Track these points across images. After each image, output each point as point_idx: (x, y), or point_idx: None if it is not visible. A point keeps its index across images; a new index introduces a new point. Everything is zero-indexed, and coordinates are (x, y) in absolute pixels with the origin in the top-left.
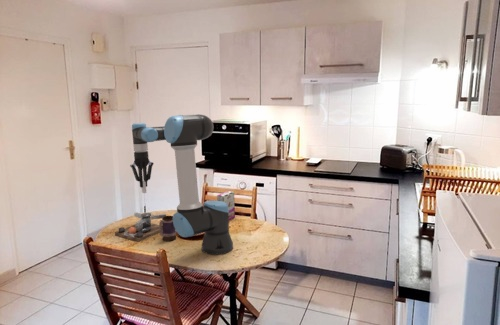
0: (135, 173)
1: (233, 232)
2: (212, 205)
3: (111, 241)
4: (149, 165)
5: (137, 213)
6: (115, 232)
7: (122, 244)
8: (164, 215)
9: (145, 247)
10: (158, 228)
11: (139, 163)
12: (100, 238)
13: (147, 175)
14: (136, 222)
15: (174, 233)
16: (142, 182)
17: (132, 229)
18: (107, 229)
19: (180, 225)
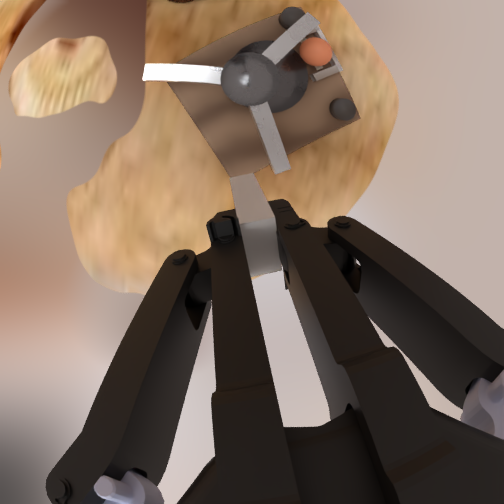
0: (436, 279)
1: (7, 7)
2: None
3: (374, 72)
4: (141, 474)
5: (277, 155)
6: (358, 117)
7: (348, 25)
8: (154, 64)
9: None
10: (196, 64)
11: (454, 490)
12: (394, 121)
13: (195, 325)
14: (314, 26)
15: None
16: (276, 226)
17: (321, 39)
18: (360, 192)
19: None
